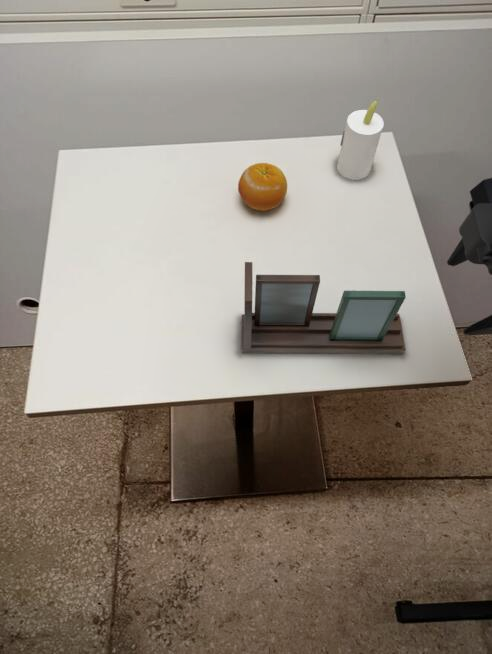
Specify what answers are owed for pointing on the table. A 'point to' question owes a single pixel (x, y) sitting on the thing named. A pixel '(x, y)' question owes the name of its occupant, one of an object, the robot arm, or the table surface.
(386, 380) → the table surface
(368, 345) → the frame display rack
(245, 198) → the fruit
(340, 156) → the candle
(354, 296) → the sash
